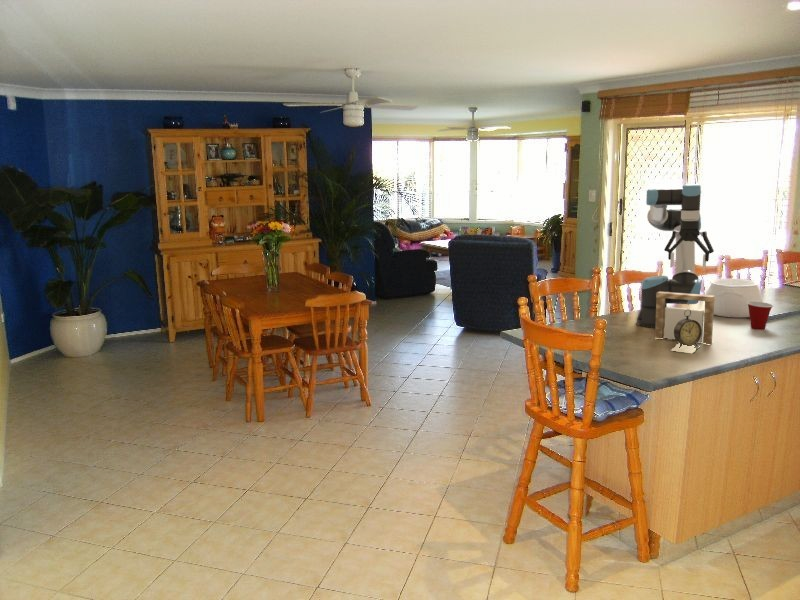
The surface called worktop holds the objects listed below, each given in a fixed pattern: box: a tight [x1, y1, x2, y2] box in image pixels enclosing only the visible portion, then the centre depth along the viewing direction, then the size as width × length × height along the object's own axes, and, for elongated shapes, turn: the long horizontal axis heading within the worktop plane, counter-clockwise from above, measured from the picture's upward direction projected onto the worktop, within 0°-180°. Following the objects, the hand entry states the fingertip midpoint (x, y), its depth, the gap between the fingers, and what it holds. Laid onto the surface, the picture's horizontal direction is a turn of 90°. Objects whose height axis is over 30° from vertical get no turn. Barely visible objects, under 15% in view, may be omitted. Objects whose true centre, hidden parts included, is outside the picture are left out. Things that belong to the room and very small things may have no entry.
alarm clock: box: [674, 308, 702, 348], centre depth 287 cm, size 11×5×16 cm, turn 105°
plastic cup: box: [747, 301, 774, 331], centre depth 316 cm, size 11×11×12 cm
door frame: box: [654, 291, 715, 345], centre depth 298 cm, size 23×4×21 cm, turn 54°
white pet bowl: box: [705, 278, 764, 319], centre depth 347 cm, size 29×26×16 cm
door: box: [663, 306, 705, 344], centre depth 299 cm, size 15×2×14 cm, turn 55°
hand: (687, 267), depth 305 cm, fingers open, 13 cm apart
